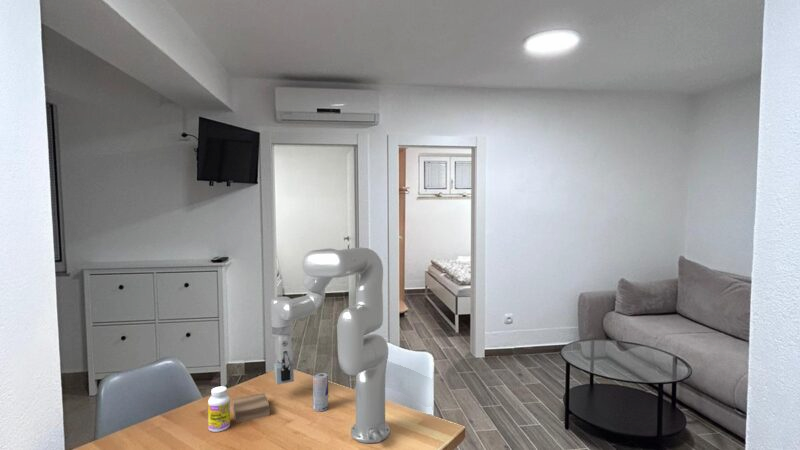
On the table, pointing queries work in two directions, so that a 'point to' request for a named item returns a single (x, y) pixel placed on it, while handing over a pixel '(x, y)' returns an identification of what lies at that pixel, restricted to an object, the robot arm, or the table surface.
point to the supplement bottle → (219, 409)
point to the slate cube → (278, 373)
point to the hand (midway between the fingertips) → (284, 377)
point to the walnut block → (251, 407)
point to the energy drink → (320, 392)
